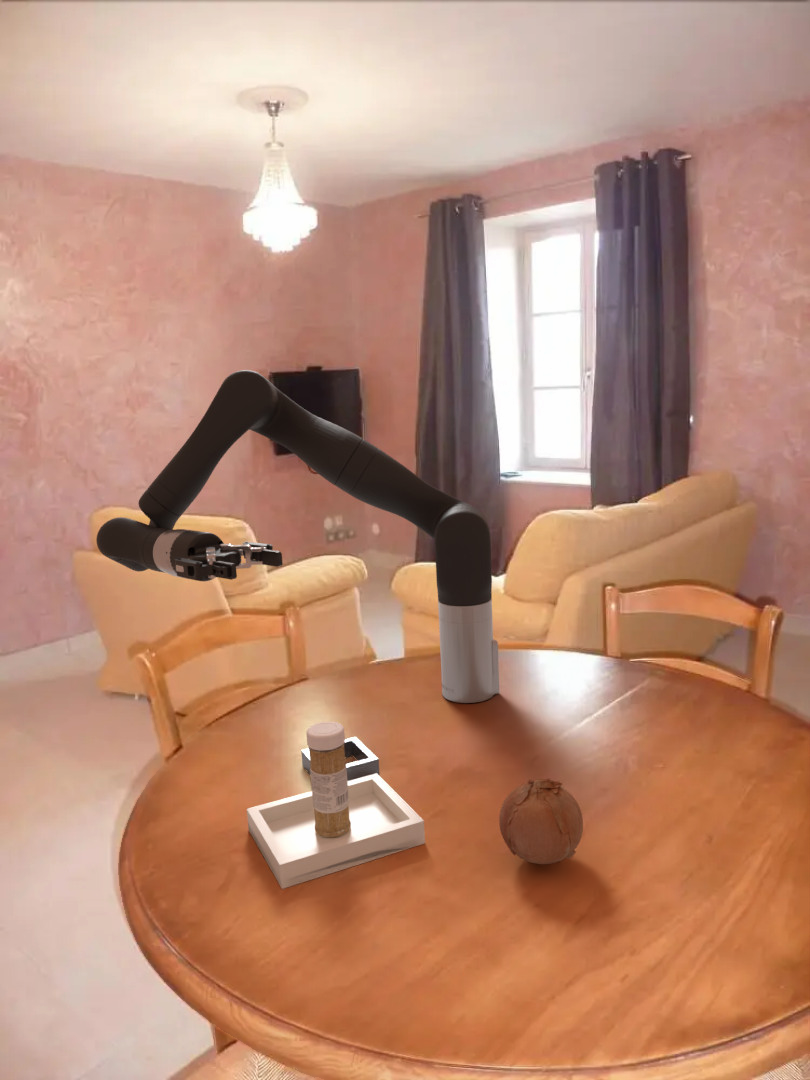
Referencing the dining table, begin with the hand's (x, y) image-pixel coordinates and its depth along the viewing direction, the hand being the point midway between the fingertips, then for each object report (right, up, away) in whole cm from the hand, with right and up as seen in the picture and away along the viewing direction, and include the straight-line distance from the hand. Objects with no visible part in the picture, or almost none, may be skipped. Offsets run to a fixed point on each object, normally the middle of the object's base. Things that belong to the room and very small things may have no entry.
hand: (258, 565), depth 118 cm
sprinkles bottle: (+12, -32, -16) cm, 38 cm away
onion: (+37, -34, -23) cm, 55 cm away
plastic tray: (+12, -33, -16) cm, 39 cm away
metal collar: (+12, -30, +2) cm, 32 cm away
